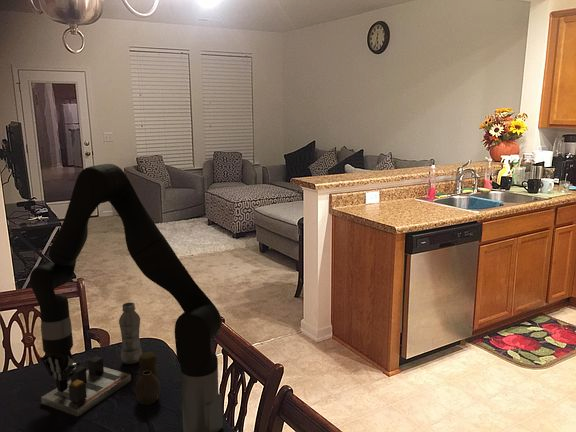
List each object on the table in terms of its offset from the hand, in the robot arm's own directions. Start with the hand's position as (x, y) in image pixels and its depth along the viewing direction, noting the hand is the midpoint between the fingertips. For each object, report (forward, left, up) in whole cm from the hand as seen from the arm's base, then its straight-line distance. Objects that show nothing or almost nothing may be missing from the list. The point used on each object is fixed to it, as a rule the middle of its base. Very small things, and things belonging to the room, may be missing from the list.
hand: (62, 390), depth 135 cm
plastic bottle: (-1, -25, -4) cm, 26 cm away
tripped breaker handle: (-6, 0, -1) cm, 6 cm away
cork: (-17, -15, -4) cm, 24 cm away
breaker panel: (-2, -6, -4) cm, 8 cm away
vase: (-21, -10, -4) cm, 24 cm away
